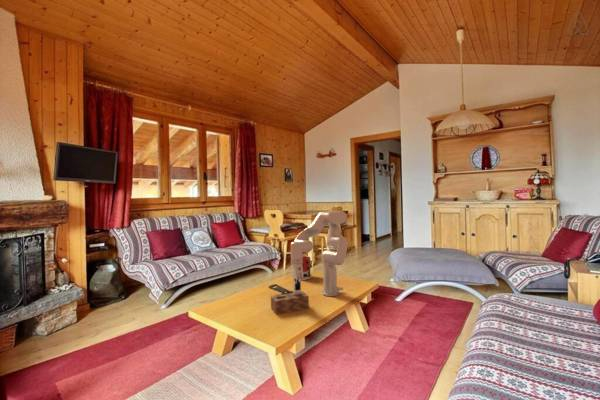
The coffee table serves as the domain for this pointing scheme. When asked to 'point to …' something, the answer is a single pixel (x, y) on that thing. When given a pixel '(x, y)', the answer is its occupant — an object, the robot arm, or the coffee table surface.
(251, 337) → the coffee table surface
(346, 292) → the coffee table surface
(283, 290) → the zipper pull
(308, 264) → the santa figurine
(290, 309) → the slotted wooden block
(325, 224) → the robot arm
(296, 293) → the pinkish wooden bar
